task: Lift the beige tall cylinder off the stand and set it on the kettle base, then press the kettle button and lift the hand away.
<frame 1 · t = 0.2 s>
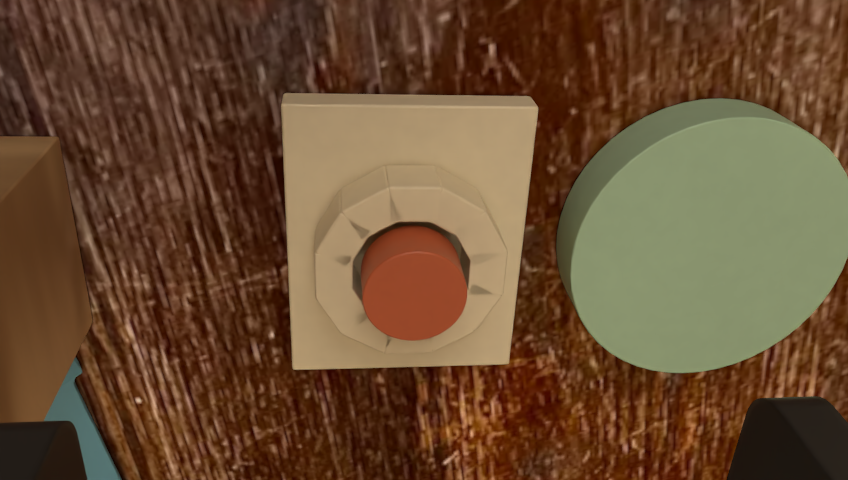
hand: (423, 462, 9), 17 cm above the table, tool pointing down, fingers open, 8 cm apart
kettle base: (689, 230, 28), on the table
kettle switch: (404, 232, 27), on the table
kettle button: (412, 283, 24), point 3 cm above the table, slide at 0.1 cm
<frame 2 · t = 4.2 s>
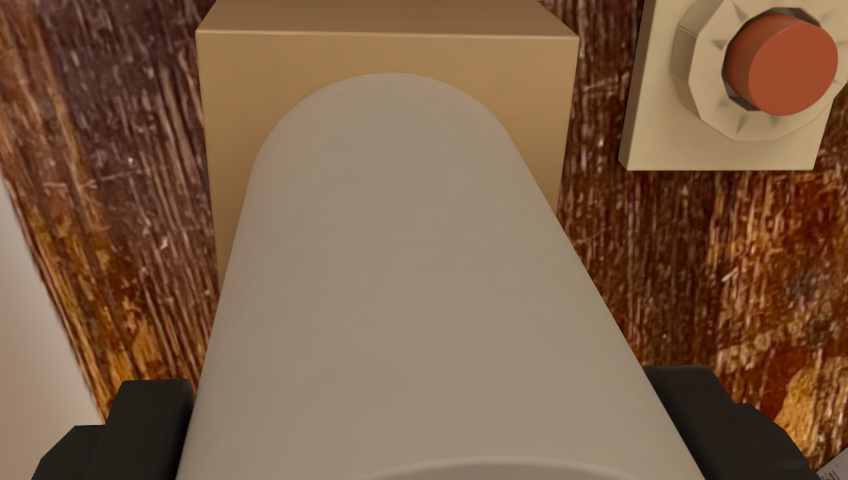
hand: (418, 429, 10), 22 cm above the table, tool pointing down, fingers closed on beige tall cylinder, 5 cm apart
kettle switch: (735, 41, 30), on the table
kettle button: (780, 64, 27), point 3 cm above the table, slide at 0.1 cm
stand: (364, 34, 29), on the table
beige tall cylinder: (389, 208, 16), point 15 cm above the table, touching gripper, stand
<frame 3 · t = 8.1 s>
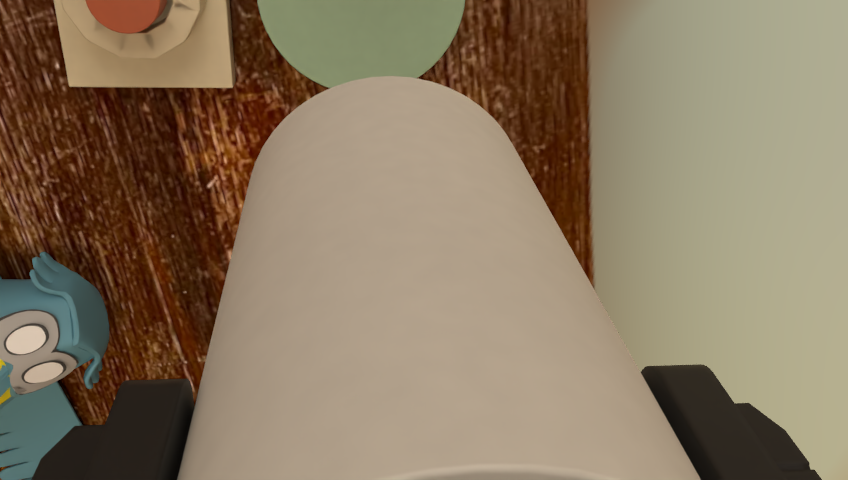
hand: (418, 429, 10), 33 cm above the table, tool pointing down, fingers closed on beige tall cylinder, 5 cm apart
beige tall cylinder: (389, 211, 16), point 26 cm above the table, touching gripper
when the fingers open (9 cm above the table, at t = 12.4 s): beige tall cylinder stays where it is, resting on kettle base.
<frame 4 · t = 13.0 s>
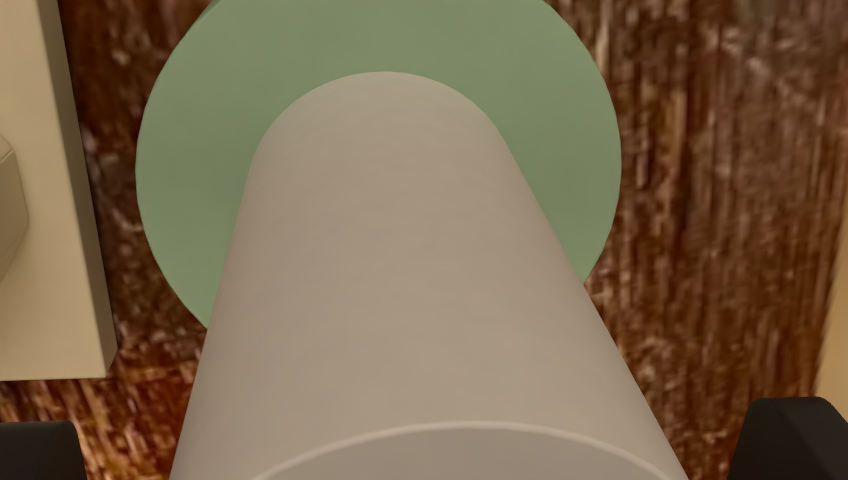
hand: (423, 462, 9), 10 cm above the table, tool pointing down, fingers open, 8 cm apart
kettle base: (381, 163, 18), on the table
beige tall cylinder: (383, 203, 16), point 2 cm above the table, touching kettle base
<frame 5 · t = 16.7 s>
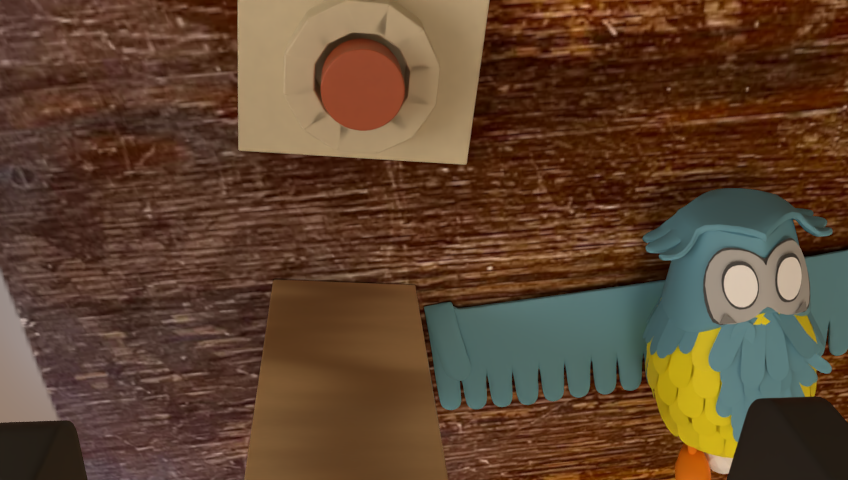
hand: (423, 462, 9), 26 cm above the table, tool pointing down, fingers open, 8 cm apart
kettle switch: (360, 61, 33), on the table
owl figurine: (690, 297, 41), on the table
kettle button: (362, 84, 30), point 3 cm above the table, slide at 0.1 cm
stand: (341, 340, 40), on the table
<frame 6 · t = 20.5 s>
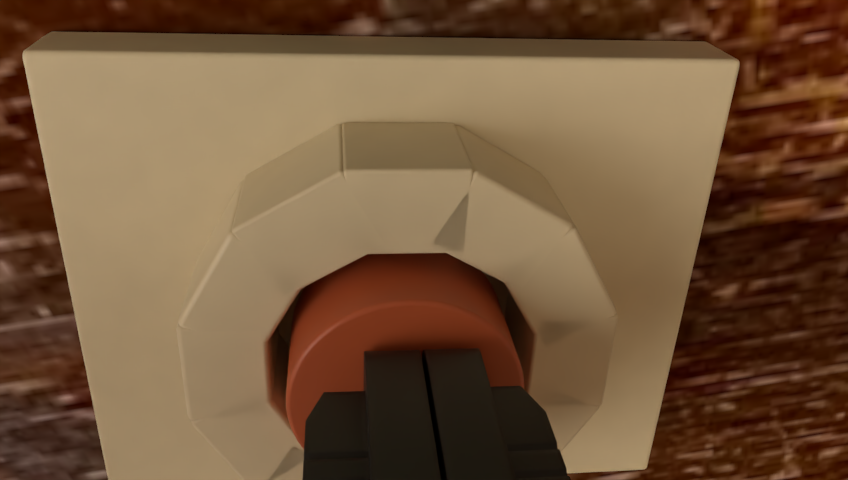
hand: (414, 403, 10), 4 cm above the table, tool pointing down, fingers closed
kettle switch: (388, 265, 14), on the table
kettle button: (401, 363, 11), point 3 cm above the table, slide at -0.5 cm, touching gripper
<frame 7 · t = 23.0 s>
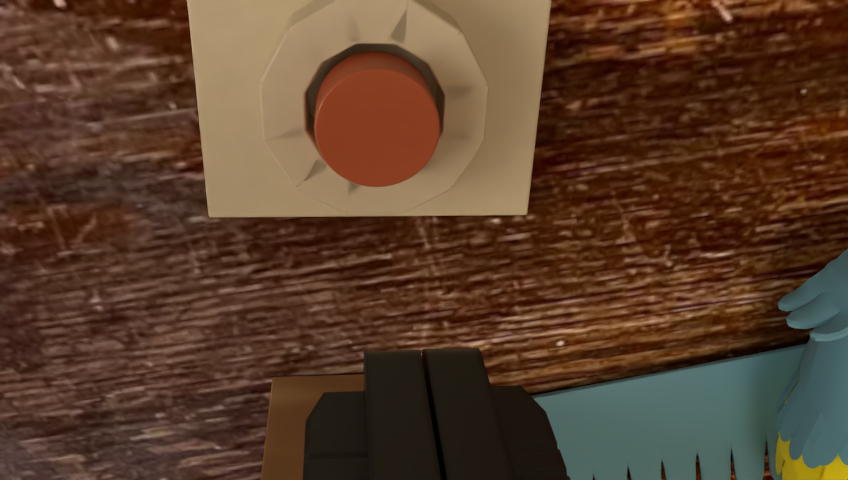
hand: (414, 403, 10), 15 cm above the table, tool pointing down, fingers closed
kettle switch: (371, 81, 23), on the table
owl figurine: (823, 362, 31), on the table
kettle button: (376, 119, 20), point 3 cm above the table, slide at 0.1 cm
stand: (367, 445, 30), on the table
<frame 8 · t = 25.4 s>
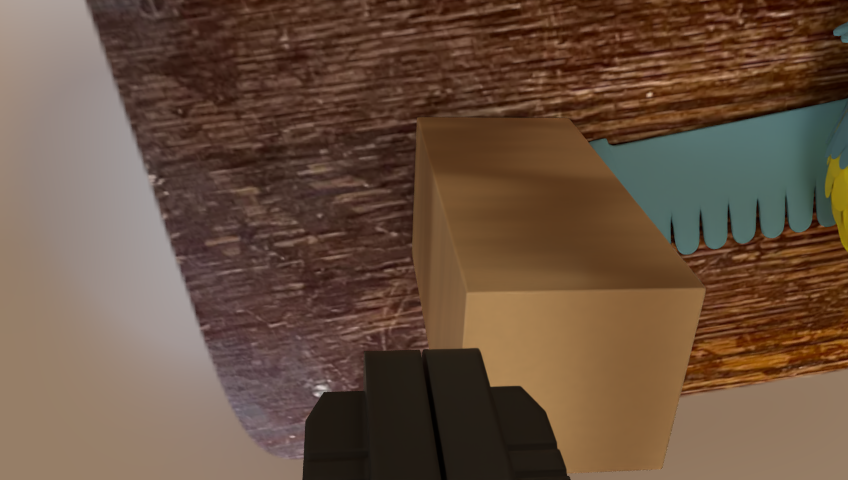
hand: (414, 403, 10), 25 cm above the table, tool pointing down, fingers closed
stand: (487, 187, 37), on the table
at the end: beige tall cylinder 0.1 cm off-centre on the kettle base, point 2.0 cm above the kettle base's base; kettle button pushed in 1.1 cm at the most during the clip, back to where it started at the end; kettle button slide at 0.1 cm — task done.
